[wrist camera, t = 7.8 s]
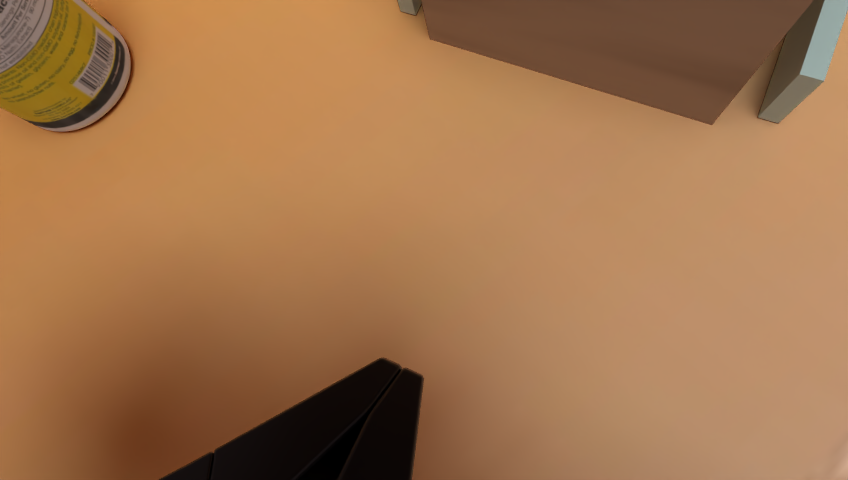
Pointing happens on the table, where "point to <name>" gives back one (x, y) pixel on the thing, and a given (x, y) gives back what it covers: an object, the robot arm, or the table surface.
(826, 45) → the light blue square frame
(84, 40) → the supplement bottle
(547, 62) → the walnut block
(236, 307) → the table surface
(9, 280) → the table surface
